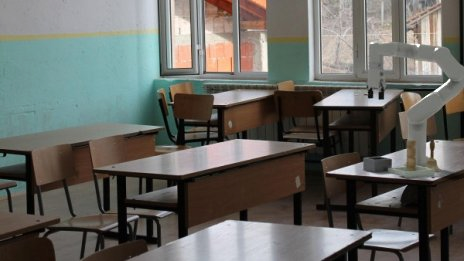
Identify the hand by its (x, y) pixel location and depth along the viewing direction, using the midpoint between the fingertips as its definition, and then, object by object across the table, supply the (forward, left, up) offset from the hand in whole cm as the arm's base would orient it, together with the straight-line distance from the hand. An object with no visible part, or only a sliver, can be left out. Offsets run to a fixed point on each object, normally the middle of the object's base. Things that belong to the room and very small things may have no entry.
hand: (375, 99), depth 455 cm
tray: (+5, +38, -34) cm, 51 cm away
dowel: (+5, +38, -34) cm, 51 cm away
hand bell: (-12, +32, -35) cm, 49 cm away
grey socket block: (+15, +24, -34) cm, 44 cm away
